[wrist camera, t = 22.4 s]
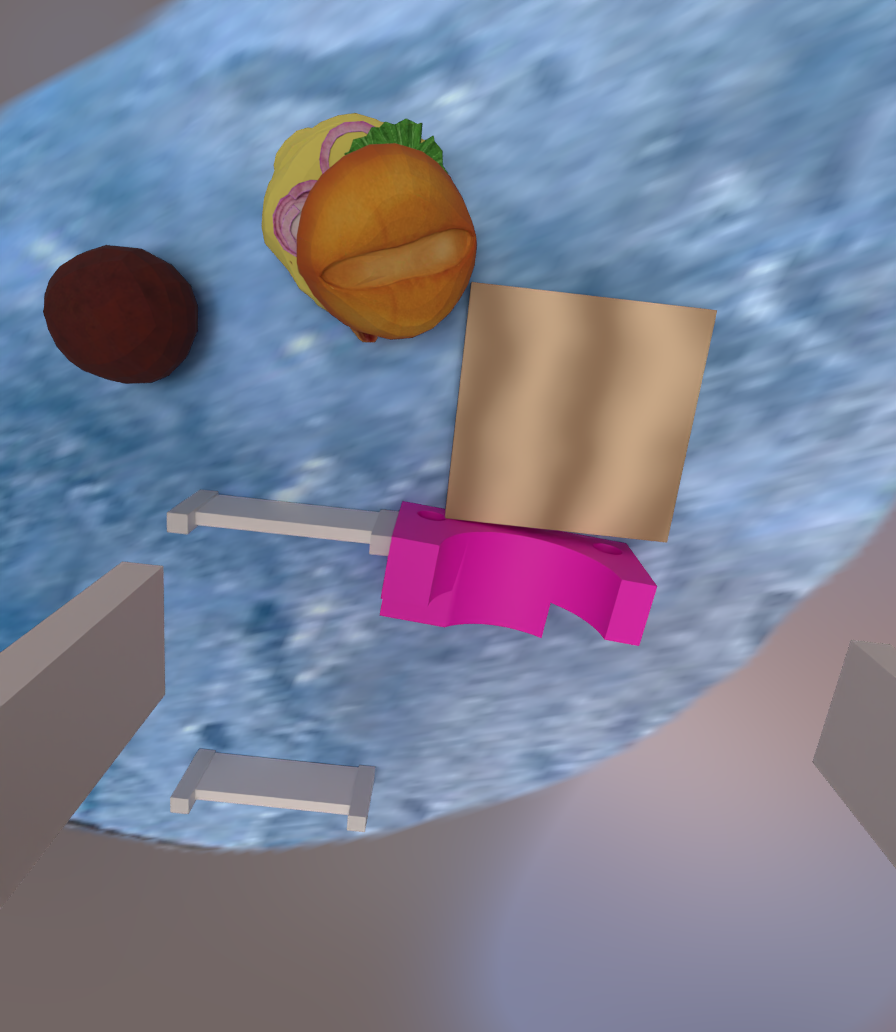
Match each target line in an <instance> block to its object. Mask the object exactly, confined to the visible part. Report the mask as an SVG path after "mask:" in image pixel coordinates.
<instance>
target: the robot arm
mask: <svg viewBox="0 0 896 1032" xmlns="http://www.w3.org/2000/svg"><path fill="white" fill-rule="evenodd" d="M164 695H165V654H164V584H163V566H158V565H149V564H139V563H130V562H121V563H120V564H119V565H117V566H116V567H115V568H113V569H112V570H111V571H109V572H108V573H107V574H105V575H104V576H103V577H101V578H100V579H99V580H97V581H96V582H95V583H93V584H92V585H91V586H89V587H88V588H86V589H85V590H84V591H82V592H81V593H80V594H78V595H77V596H76V597H74V598H73V599H72V600H70V601H69V602H68V603H66V604H65V605H64V606H62V607H61V608H60V609H58V610H57V611H56V612H54V613H53V614H52V615H50V616H49V617H48V618H46V619H45V620H44V621H42V622H41V623H40V624H38V625H37V626H36V627H34V628H33V629H32V630H30V631H29V632H28V633H26V634H25V635H24V636H22V637H21V638H20V639H18V640H17V641H16V642H14V643H13V644H12V645H10V646H9V647H8V648H6V649H5V650H4V651H2V652H1V653H0V909H1V908H2V907H3V905H4V904H5V903H6V901H7V900H8V899H9V898H10V896H11V895H12V893H13V892H14V891H15V890H16V888H17V887H18V886H19V885H20V883H21V882H22V881H23V879H24V878H25V877H26V875H27V874H28V873H29V872H30V870H31V869H32V867H33V866H34V865H35V864H36V862H37V861H38V860H39V858H40V857H41V856H42V854H43V853H44V852H45V851H46V849H47V848H48V847H49V845H50V844H51V843H52V841H53V840H54V839H55V838H56V836H57V835H58V834H59V832H60V831H61V830H62V828H63V827H64V826H65V824H66V823H67V822H68V821H69V819H70V818H71V817H72V815H73V814H74V813H75V811H76V810H77V809H78V807H79V806H80V805H81V804H82V802H83V801H84V800H85V798H86V797H87V796H88V794H89V793H90V792H91V790H92V789H93V788H94V787H95V785H96V784H97V783H98V781H99V780H100V779H101V777H102V776H103V775H104V773H105V772H106V771H107V770H108V768H109V767H110V766H111V764H112V763H113V762H114V760H115V759H116V758H117V757H118V755H119V754H120V753H121V751H122V750H123V749H124V747H125V746H126V745H127V743H128V742H129V741H130V740H131V738H132V737H133V736H134V734H135V733H136V732H137V730H138V729H139V728H140V726H141V725H142V724H143V723H144V721H145V720H146V719H147V717H148V716H149V715H150V713H151V712H152V711H153V709H154V708H155V707H156V706H157V704H158V703H159V702H160V700H161V699H162V698H163V696H164ZM813 763H814V765H815V766H816V767H817V768H818V770H819V771H820V772H821V774H822V775H823V776H824V777H825V779H826V780H827V781H828V782H829V784H830V785H831V786H832V788H833V789H834V790H835V791H836V793H837V794H838V795H839V797H840V798H841V799H842V800H843V801H844V803H845V804H846V805H847V807H848V808H849V809H850V811H851V812H852V813H853V815H854V816H855V817H856V818H857V820H858V821H859V822H860V823H861V825H862V826H863V827H864V828H865V830H866V831H867V832H868V834H869V835H870V836H871V838H872V839H873V840H874V841H875V843H876V844H877V845H878V846H879V848H880V849H881V850H882V852H883V853H884V854H885V855H886V857H887V858H888V859H889V861H890V862H891V863H892V864H893V866H894V867H895V868H896V648H894V647H893V646H892V645H890V644H883V643H873V642H863V641H855V640H851V641H850V644H849V647H848V651H847V654H846V657H845V660H844V664H843V666H842V670H841V673H840V676H839V679H838V682H837V686H836V689H835V692H834V695H833V698H832V701H831V705H830V708H829V711H828V714H827V717H826V721H825V724H824V727H823V730H822V733H821V737H820V739H819V743H818V746H817V749H816V752H815V755H814V759H813Z"/></svg>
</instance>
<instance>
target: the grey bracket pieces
mask: <svg viewBox="0 0 896 1032" xmlns="http://www.w3.org/2000/svg"><path fill="white" fill-rule="evenodd" d="M398 514H399V511H391V510H382V509H381V510H380V512H373V511H364V510H355V509H346V508H337V507H328V506H319V505H310V504H300V503H291V502H282V501H273V500H264V499H255V498H246V497H237V496H227V495H218V491H209V490H199V491H197V492H196V493H194V494H193V495H191V496H190V497H188V498H187V499H186V500H184V501H183V502H181V503H180V504H178V505H177V506H175V507H174V508H173V509H171V510H170V511H168V512H167V532H171V533H180V534H189V533H190V532H191V531H192V530H194V529H195V528H196V527H197V526H198V525H202V526H211V527H220V528H230V529H239V530H248V531H257V532H266V533H276V534H285V535H294V536H303V537H312V538H322V539H331V540H340V541H349V542H358V543H367V544H370V550H369V554H374V555H383V556H388V555H389V549H390V543H391V538H392V534H393V531H394V527H395V524H396V521H397V517H398ZM374 776H375V767H372V766H362V765H359V767H350V766H340V765H330V764H321V763H311V762H301V761H292V760H282V759H272V758H263V757H253V756H243V755H233V754H224V753H216V750H207V749H199V750H198V752H197V753H196V755H195V757H194V758H193V760H192V762H191V763H190V765H189V767H188V768H187V770H186V772H185V774H184V775H183V777H182V779H181V780H180V782H179V784H178V785H177V787H176V789H175V790H174V792H173V794H172V795H171V797H170V808H171V812H172V813H182V814H189V812H190V811H191V809H192V807H193V805H194V803H195V801H196V799H198V800H208V801H218V802H227V803H237V804H247V805H257V806H267V807H276V808H286V809H296V810H306V811H316V812H325V813H335V814H345V815H348V823H347V830H349V831H359V832H365V828H366V823H367V817H368V812H369V806H370V801H371V795H372V789H373V784H374Z"/></svg>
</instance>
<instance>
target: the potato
mask: <svg viewBox="0 0 896 1032" xmlns="http://www.w3.org/2000/svg"><path fill="white" fill-rule="evenodd" d="M43 313H44V316H45V319H46V323H47V327H48V330H49V332H50V334H51V336H52V338H53V340H54V342H55V344H56V346H57V347H58V349H59V350H60V351H61V352H62V353H63V354H64V355H65V357H66V358H67V359H68V360H69V361H70V362H72V363H73V364H75V365H76V366H77V367H79V368H80V369H82V370H84V371H86V372H89V373H91V374H94V375H97V376H99V377H102V378H105V379H107V380H112V381H116V382H121V383H125V384H129V383H152V382H154V381H157V380H159V379H162V378H164V377H167V376H169V375H170V374H171V373H172V372H173V371H174V370H175V369H176V368H177V367H178V366H179V365H180V364H181V363H182V362H183V360H184V359H185V358H186V357H187V355H188V353H189V350H190V348H191V346H192V343H193V341H194V338H195V336H196V333H197V331H198V305H197V302H196V299H195V296H194V294H193V291H192V288H191V285H190V284H189V283H188V282H187V281H186V280H185V279H184V278H183V276H182V275H181V274H180V273H179V272H178V271H177V270H176V269H175V268H174V267H173V266H172V265H171V264H169V263H167V262H165V261H164V260H162V259H160V258H158V257H156V256H155V255H153V254H151V253H149V252H147V251H145V250H143V249H139V248H130V247H120V246H110V245H105V246H102V247H98V248H95V249H92V250H89V251H86V252H84V253H82V254H79V255H77V256H76V257H74V258H72V259H71V260H69V261H68V262H66V263H64V264H63V265H61V266H60V267H59V268H58V269H57V271H56V272H55V273H54V275H53V276H52V277H51V278H50V280H49V283H48V286H47V289H46V292H45V296H44V310H43Z"/></svg>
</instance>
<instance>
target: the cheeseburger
mask: <svg viewBox="0 0 896 1032" xmlns="http://www.w3.org/2000/svg"><path fill="white" fill-rule="evenodd" d="M421 135H422V123H419V124H417V123H415V122H413V121H410V120H408V119H404V120H402V121H401V122H399V123H397V124H395V125H394V124H391V123H388V122H380V121H378V120H377V119H374V118H370V117H367V116H364V115H360V114H357V113H353V114H345V115H338V116H335V117H333V118H330V119H328V120H325V121H323V122H320V123H319V124H317V125H316V126H315V127H313V128H305V129H301V130H298V131H296V132H295V133H294V134H293V135H292V136H290V137H289V138H288V139H287V140H286V141H285V142H284V143H283V145H282V146H281V148H280V149H279V151H278V152H277V153H276V157H275V162H274V170H275V171H274V174H273V177H272V180H271V181H270V182H269V184H268V187H267V191H266V194H265V197H264V204H263V213H262V231H263V236H264V241H265V244H266V245H267V246H268V247H269V249H270V250H271V251H272V252H273V253H274V254H275V255H276V257H277V258H278V259H279V260H280V261H281V262H282V264H283V265H284V266H285V267H286V268H287V269H288V271H289V272H290V274H291V275H292V277H293V279H294V280H295V282H296V284H297V285H298V287H299V289H301V290H302V291H303V292H304V293H305V294H307V295H308V296H309V297H310V298H312V299H313V300H314V301H315V303H316V304H317V305H318V306H319V307H321V308H323V309H324V310H326V311H328V312H329V313H330V314H331V315H333V316H334V317H335V318H337V319H338V320H339V321H341V322H342V323H343V324H345V325H347V326H349V327H350V328H351V329H352V331H353V332H354V333H355V335H356V336H357V337H358V339H359V340H361V341H362V342H375V341H376V339H377V336H379V337H382V338H386V339H390V340H392V339H404V338H413V337H415V336H417V335H419V334H422V333H424V332H426V331H428V330H430V329H432V328H434V327H435V326H436V325H437V324H438V323H439V322H440V321H441V320H443V319H444V318H445V317H446V316H447V315H448V314H449V313H450V312H451V311H452V309H453V308H454V306H455V305H456V304H457V302H458V301H459V299H460V298H461V296H462V294H463V292H464V291H465V289H466V287H467V285H468V283H469V280H470V277H471V274H472V271H473V268H474V265H475V258H476V249H477V241H476V234H475V230H474V226H473V223H472V220H471V217H470V215H469V213H468V210H467V208H466V205H465V203H464V200H463V198H462V196H461V194H460V193H459V191H458V189H457V188H456V186H455V184H454V183H453V181H452V179H451V178H450V176H449V175H448V172H447V171H446V170H445V168H444V167H443V156H442V150H441V148H440V147H439V146H438V145H437V143H436V142H435V141H434V136H431V137H430V138H428V139H427V140H423V139H421Z"/></svg>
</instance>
